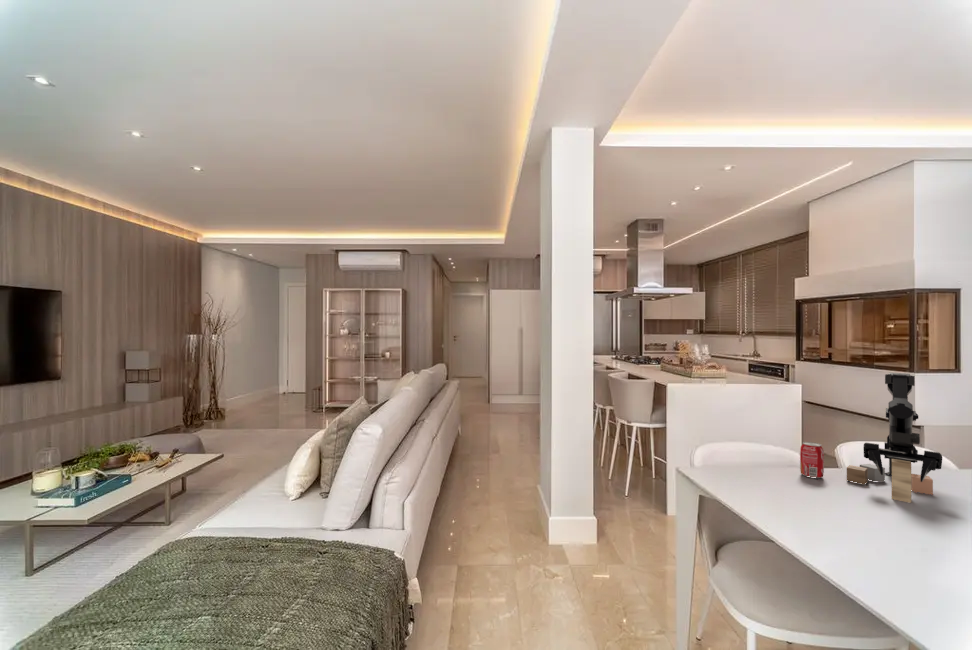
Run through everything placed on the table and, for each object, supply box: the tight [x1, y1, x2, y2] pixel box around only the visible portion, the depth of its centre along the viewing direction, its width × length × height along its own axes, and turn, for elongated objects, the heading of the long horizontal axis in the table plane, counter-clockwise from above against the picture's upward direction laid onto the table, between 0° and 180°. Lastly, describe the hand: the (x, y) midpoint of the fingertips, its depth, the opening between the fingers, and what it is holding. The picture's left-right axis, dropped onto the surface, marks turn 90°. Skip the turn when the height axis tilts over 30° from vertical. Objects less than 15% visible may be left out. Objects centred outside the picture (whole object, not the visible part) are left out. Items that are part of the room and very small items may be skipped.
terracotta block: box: [911, 473, 934, 496], centre depth 151 cm, size 5×5×5 cm
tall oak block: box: [891, 459, 912, 504], centre depth 143 cm, size 4×4×12 cm
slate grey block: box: [859, 463, 886, 481], centre depth 162 cm, size 5×5×5 cm
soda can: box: [799, 441, 825, 479], centre depth 164 cm, size 7×7×12 cm
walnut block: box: [846, 464, 869, 485], centre depth 159 cm, size 5×5×5 cm
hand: (901, 477), depth 142 cm, fingers open, 9 cm apart
